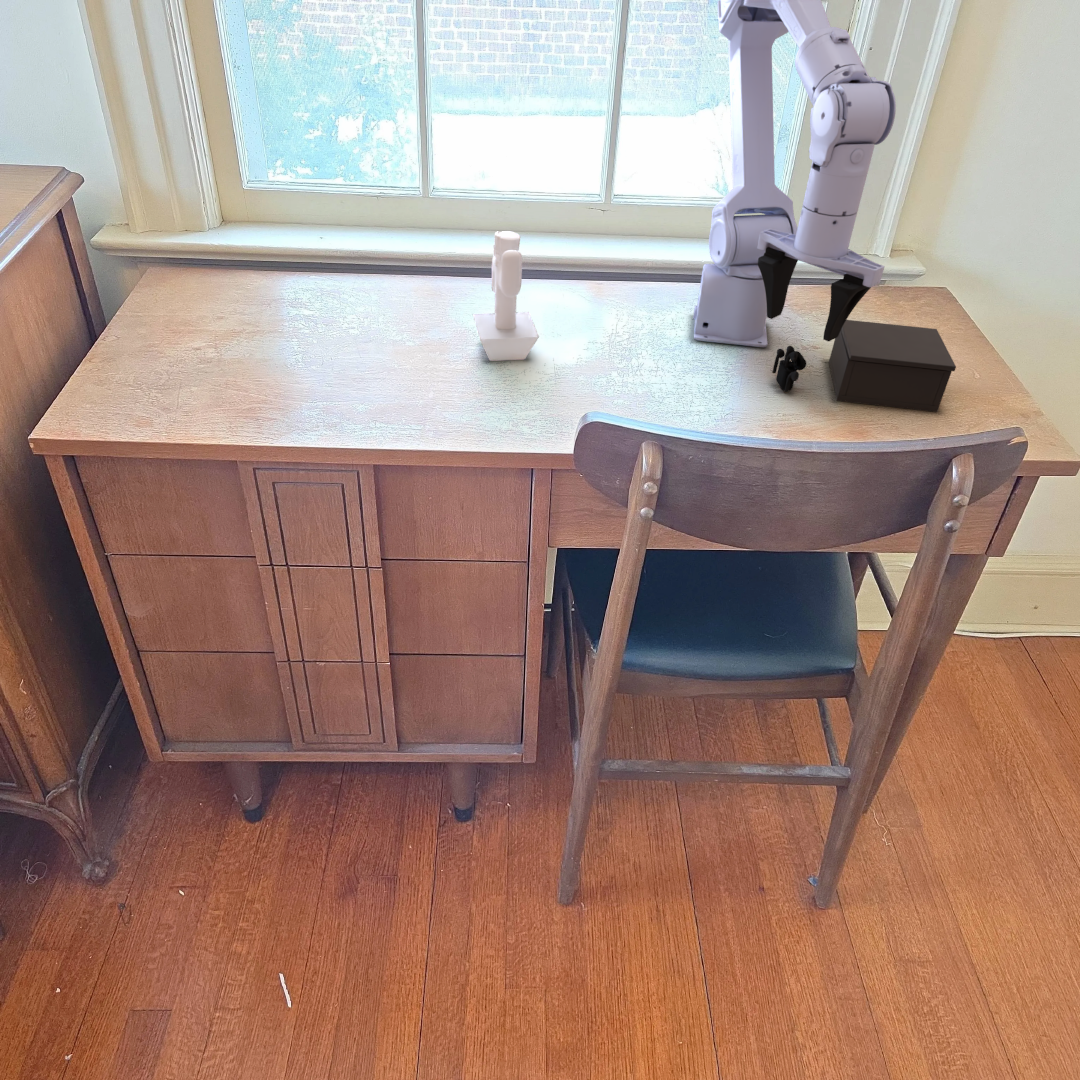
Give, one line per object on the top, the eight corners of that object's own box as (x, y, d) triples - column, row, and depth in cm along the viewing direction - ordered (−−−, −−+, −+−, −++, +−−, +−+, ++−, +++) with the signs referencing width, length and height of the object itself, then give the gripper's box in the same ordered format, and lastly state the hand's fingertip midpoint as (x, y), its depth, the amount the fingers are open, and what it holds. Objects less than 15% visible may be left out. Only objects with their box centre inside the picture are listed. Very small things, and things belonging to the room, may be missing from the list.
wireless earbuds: (768, 373, 111) (777, 336, 108) (788, 373, 111) (797, 336, 108) (785, 401, 105) (795, 363, 102) (806, 401, 106) (816, 363, 103)
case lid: (954, 371, 101) (956, 366, 101) (849, 360, 102) (851, 355, 102) (935, 333, 110) (936, 328, 109) (838, 323, 111) (840, 318, 110)
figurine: (526, 334, 117) (530, 219, 107) (539, 368, 109) (545, 247, 100) (471, 337, 115) (470, 220, 106) (480, 371, 108) (481, 249, 99)
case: (937, 412, 105) (951, 371, 102) (836, 401, 106) (848, 360, 103) (922, 372, 113) (935, 333, 110) (828, 362, 114) (838, 323, 111)
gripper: (911, 218, 93) (875, 338, 102) (792, 183, 101) (768, 298, 110) (877, 232, 89) (843, 356, 98) (756, 195, 97) (734, 313, 106)
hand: (801, 326), depth 103 cm, fingers open, 7 cm apart
